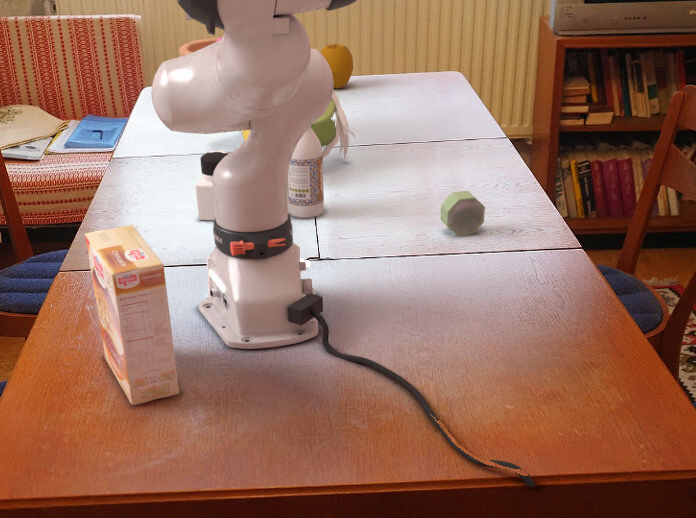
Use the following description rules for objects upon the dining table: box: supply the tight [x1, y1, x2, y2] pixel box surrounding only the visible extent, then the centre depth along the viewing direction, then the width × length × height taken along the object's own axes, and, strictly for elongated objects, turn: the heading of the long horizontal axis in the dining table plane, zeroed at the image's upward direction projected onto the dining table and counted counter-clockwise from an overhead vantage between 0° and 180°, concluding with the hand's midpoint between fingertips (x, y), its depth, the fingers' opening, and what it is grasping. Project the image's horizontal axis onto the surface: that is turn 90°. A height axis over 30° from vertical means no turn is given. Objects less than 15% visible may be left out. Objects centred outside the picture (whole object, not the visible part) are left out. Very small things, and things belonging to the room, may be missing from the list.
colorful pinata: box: [216, 37, 356, 160], centre depth 214 cm, size 32×29×35 cm
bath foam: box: [288, 126, 325, 219], centre depth 182 cm, size 7×7×20 cm
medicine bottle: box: [195, 150, 231, 222], centre depth 185 cm, size 7×7×12 cm
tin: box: [440, 190, 486, 237], centre depth 175 cm, size 4×7×7 cm, turn 102°
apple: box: [320, 42, 354, 89], centre depth 262 cm, size 10×10×12 cm
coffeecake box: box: [84, 224, 180, 406], centre depth 132 cm, size 15×7×20 cm, turn 23°
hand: (220, 17), depth 154 cm, fingers open, 8 cm apart
